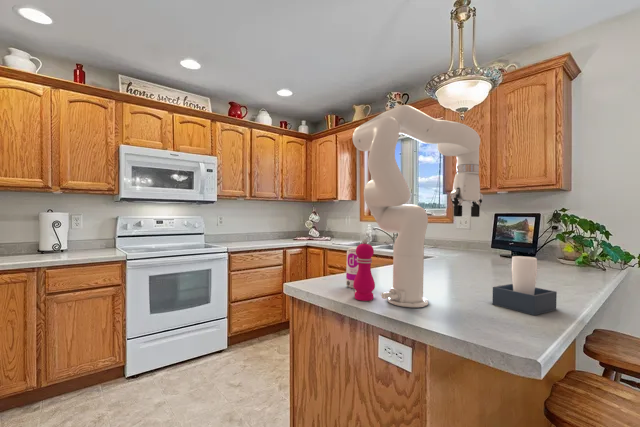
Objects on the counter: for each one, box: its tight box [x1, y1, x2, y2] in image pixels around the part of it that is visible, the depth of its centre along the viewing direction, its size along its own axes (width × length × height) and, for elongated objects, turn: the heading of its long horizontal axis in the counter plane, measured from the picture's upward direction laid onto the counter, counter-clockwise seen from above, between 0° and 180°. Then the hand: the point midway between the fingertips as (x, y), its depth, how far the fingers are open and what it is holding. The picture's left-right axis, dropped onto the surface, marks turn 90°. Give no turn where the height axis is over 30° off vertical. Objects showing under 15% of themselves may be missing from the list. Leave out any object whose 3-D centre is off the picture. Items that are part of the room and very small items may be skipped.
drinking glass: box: [511, 255, 538, 295], centre depth 99 cm, size 7×7×15 cm
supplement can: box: [345, 246, 358, 289], centre depth 123 cm, size 8×8×15 cm
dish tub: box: [491, 283, 558, 316], centre depth 99 cm, size 13×13×6 cm
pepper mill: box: [353, 238, 376, 302], centre depth 106 cm, size 7×7×20 cm
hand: (466, 216), depth 117 cm, fingers open, 9 cm apart
